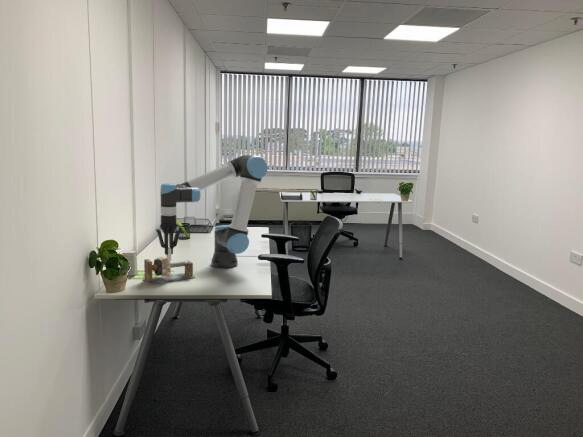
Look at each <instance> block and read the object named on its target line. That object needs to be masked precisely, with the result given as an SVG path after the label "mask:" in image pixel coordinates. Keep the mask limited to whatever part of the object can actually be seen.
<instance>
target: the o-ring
mask: <svg viewBox="0 0 583 437" xmlns="http://www.w3.org/2000/svg"><path fill="white" fill-rule="evenodd" d="M155 264H157V270H156V271H153V272H154V274H155V275H156V277H159V276H161V274H162V263H161V261H160V259H157V258H155V259H154V260H153V265H155Z"/></svg>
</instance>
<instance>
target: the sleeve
mask: <svg viewBox="0 0 583 437" xmlns="http://www.w3.org/2000/svg"><path fill="white" fill-rule="evenodd" d="M156 259H160V261H161V263H162V274H161V275H160V276H162V277H163V276H170V275H171V268H170V263H171V261H170V260H169V259H168V258H167V256H158V257H157V258H156Z"/></svg>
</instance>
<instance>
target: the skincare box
mask: <svg viewBox="0 0 583 437" xmlns="http://www.w3.org/2000/svg"><path fill="white" fill-rule="evenodd" d="M122 255H123V256H125V257H126V258H127V260H128V261H129V264H130V267H131V269H130V271H129V272H128V275H127V276H136V275H137V274H138V258H137V250H124V251H123V252H122V253H121V256H122Z"/></svg>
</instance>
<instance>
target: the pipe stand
mask: <svg viewBox="0 0 583 437" xmlns="http://www.w3.org/2000/svg"><path fill="white" fill-rule="evenodd" d="M143 262H144V264H143V266H144V270H143V271H144V278H142V281H143V282H144V283H146V284H147V286H151V285H158V284H165V283H171V282H177V281H178V282H179V281H184V280H190V279H195V278H196V277H195V275H194V263H193V262H192V261H190V260H184V261H177V262H170V269H172V268H181V267H184V272H182V273H173V274H170V276H163V277H162V276H161V275H159V276H154V277H153V272H154V271H156V270H157V264H155V265H154V264H153V261H152V260H150V259H148V258H145V259H144V260H143Z"/></svg>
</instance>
